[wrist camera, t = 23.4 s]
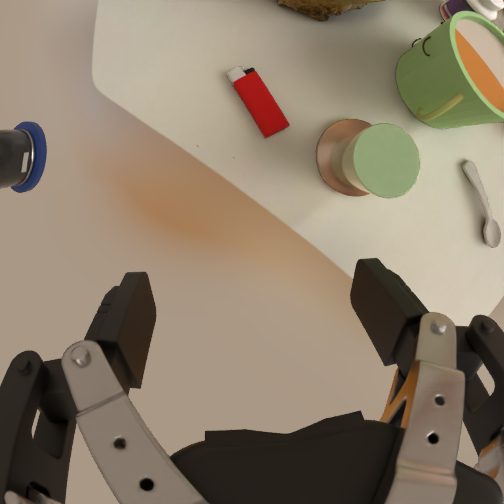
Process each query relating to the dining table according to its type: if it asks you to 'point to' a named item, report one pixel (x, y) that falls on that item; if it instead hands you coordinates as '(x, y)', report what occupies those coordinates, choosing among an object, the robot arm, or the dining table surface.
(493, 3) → the pill bottle
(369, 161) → the green cylinder
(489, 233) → the spoon
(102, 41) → the dining table surface
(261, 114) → the lighter
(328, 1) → the seashell
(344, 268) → the dining table surface
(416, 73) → the mug
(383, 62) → the dining table surface
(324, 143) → the coaster
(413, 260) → the dining table surface
